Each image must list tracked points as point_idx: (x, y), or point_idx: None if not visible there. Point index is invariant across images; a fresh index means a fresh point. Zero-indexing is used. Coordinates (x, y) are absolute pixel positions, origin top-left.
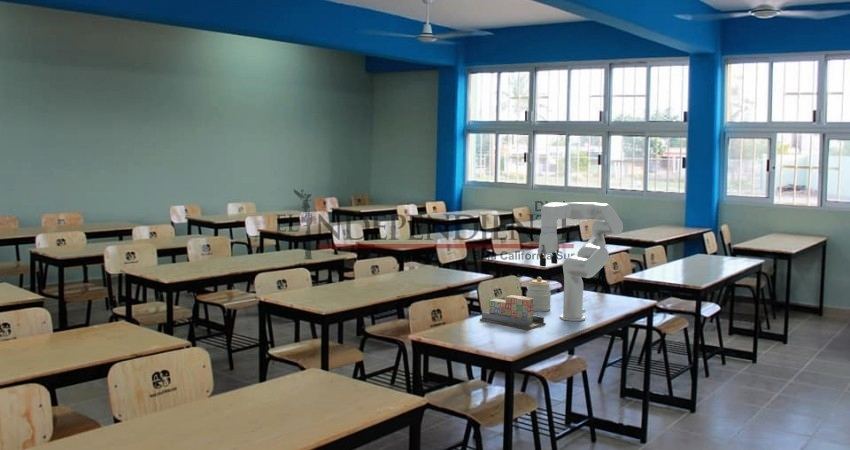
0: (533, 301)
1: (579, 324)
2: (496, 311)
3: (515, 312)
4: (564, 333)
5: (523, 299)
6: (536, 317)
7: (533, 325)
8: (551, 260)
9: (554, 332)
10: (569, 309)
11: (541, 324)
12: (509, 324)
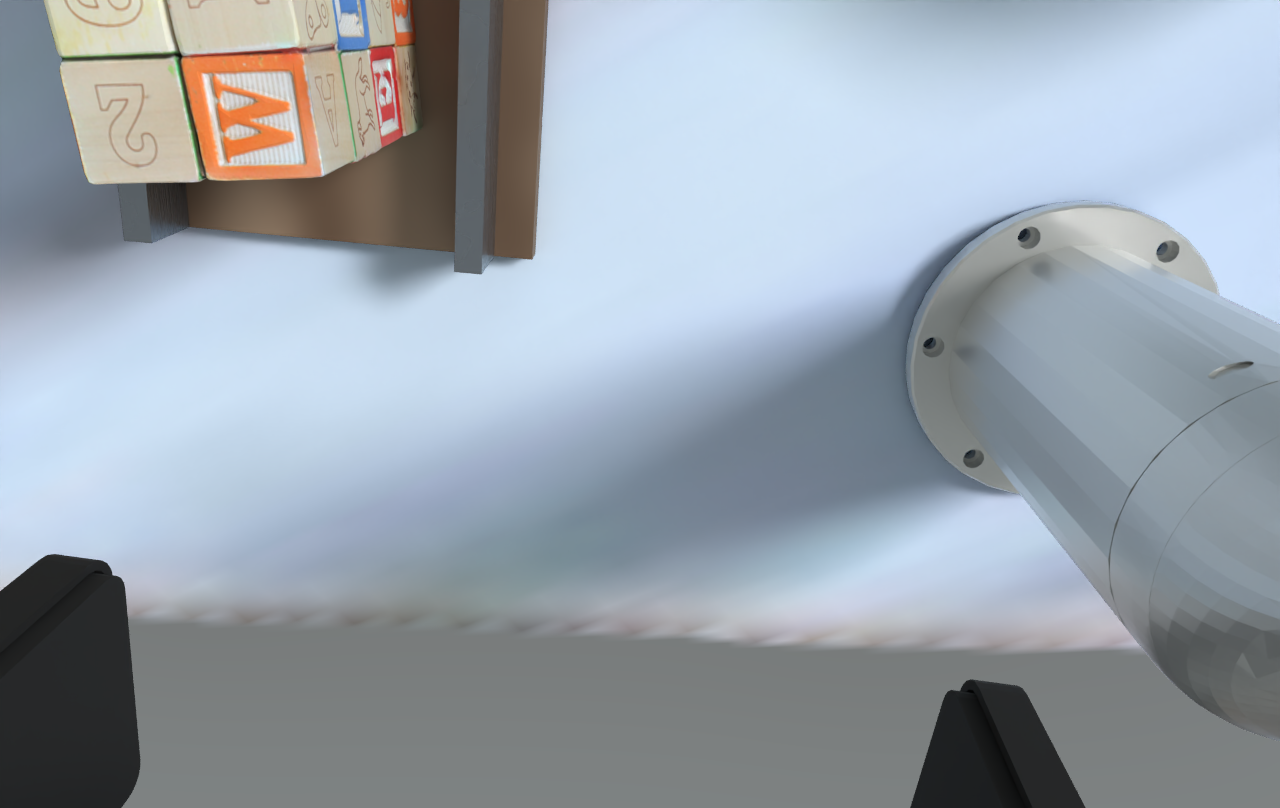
0: (334, 169)
1: (809, 521)
2: None
3: None
4: (331, 568)
5: (63, 85)
6: (458, 166)
7: (297, 213)
8: (987, 778)
9: (290, 482)
10: (984, 406)
11: (439, 249)
12: None
